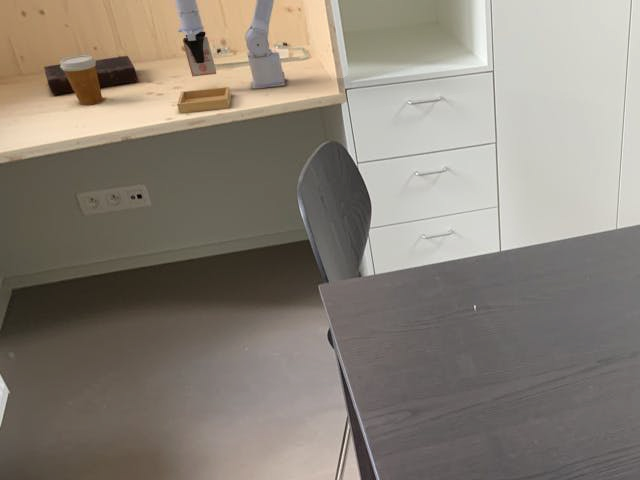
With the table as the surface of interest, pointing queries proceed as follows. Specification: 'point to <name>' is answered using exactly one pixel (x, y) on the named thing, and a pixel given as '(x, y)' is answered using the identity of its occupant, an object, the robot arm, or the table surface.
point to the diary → (106, 70)
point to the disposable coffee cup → (83, 78)
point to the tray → (204, 99)
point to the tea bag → (201, 68)
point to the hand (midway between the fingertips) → (201, 61)
